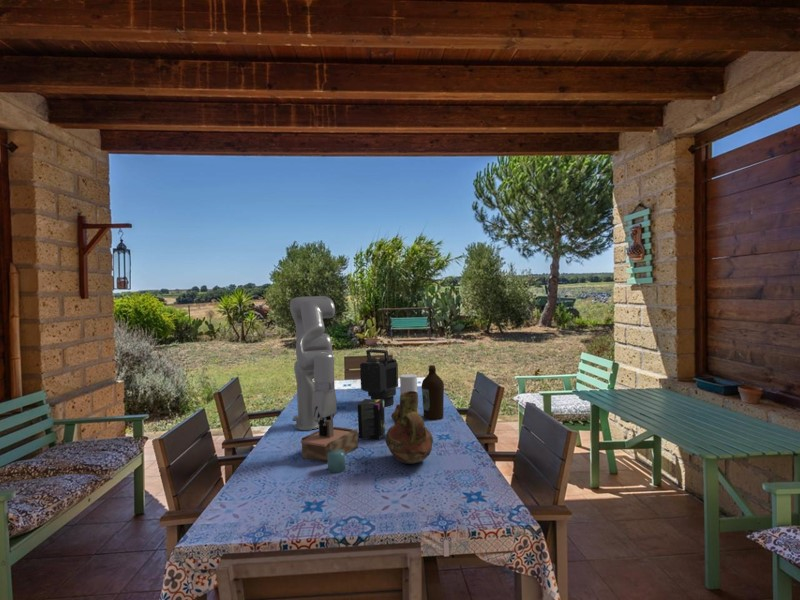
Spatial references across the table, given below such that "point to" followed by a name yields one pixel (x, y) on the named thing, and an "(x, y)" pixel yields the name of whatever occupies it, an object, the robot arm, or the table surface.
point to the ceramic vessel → (408, 431)
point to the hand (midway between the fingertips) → (326, 433)
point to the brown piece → (325, 440)
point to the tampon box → (371, 419)
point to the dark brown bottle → (433, 395)
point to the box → (331, 445)
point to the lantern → (379, 377)
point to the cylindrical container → (408, 383)
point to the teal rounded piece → (336, 461)
